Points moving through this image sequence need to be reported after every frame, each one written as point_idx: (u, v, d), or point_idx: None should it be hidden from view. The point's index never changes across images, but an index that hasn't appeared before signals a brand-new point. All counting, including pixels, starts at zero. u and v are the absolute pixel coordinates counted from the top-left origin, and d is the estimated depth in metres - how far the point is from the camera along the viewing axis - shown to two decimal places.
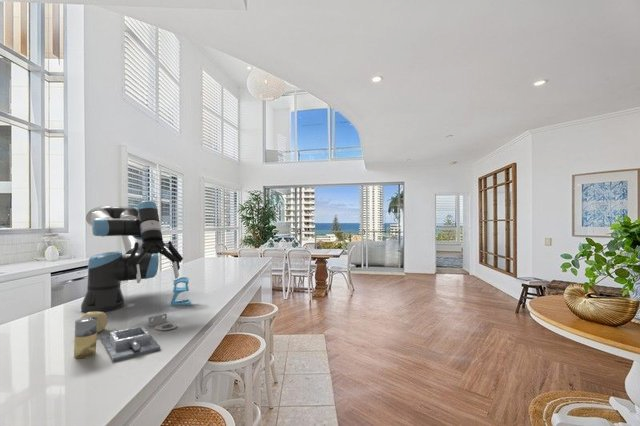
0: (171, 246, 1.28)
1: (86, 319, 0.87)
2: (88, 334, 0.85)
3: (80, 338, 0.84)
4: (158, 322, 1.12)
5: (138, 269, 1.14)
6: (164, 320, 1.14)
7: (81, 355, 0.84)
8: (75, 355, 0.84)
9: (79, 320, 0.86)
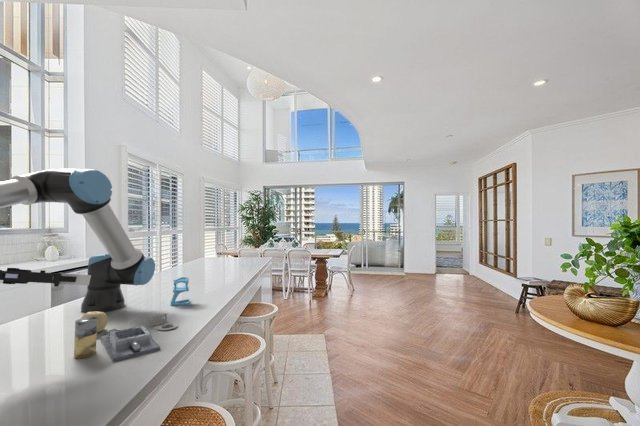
0: (19, 281, 0.72)
1: (86, 319, 0.87)
2: (88, 334, 0.85)
3: (80, 338, 0.84)
4: (158, 322, 1.12)
5: None
6: (164, 320, 1.14)
7: (81, 355, 0.84)
8: (75, 355, 0.84)
9: (79, 320, 0.86)
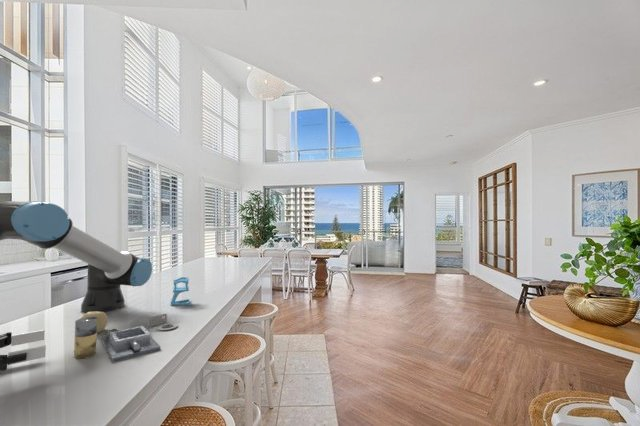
0: None
1: (86, 319, 0.87)
2: (88, 334, 0.85)
3: (80, 338, 0.84)
4: (158, 322, 1.12)
5: None
6: (164, 320, 1.14)
7: (81, 355, 0.84)
8: (75, 355, 0.84)
9: (79, 320, 0.86)
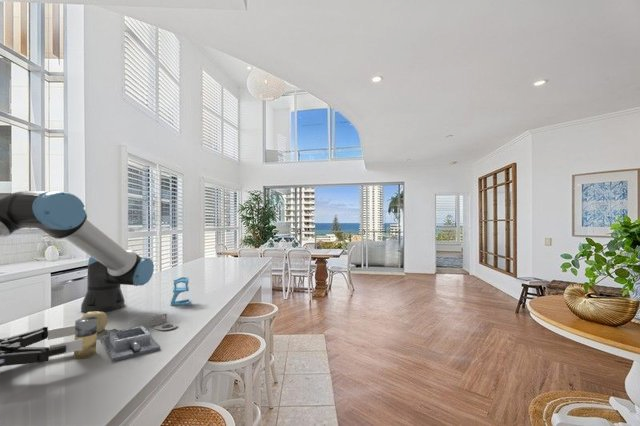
0: None
1: (86, 319, 0.87)
2: (88, 334, 0.85)
3: (80, 338, 0.84)
4: (158, 322, 1.12)
5: None
6: (164, 320, 1.14)
7: (81, 355, 0.84)
8: (75, 355, 0.84)
9: (79, 320, 0.86)
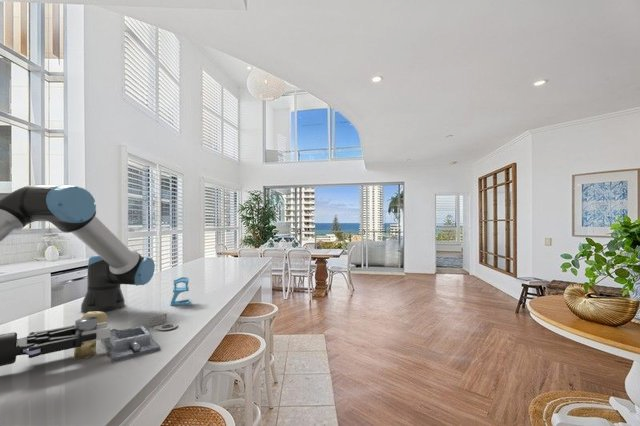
0: None
1: (86, 319, 0.87)
2: None
3: None
4: (158, 322, 1.12)
5: None
6: (164, 320, 1.14)
7: (81, 355, 0.84)
8: (75, 355, 0.84)
9: (79, 320, 0.86)
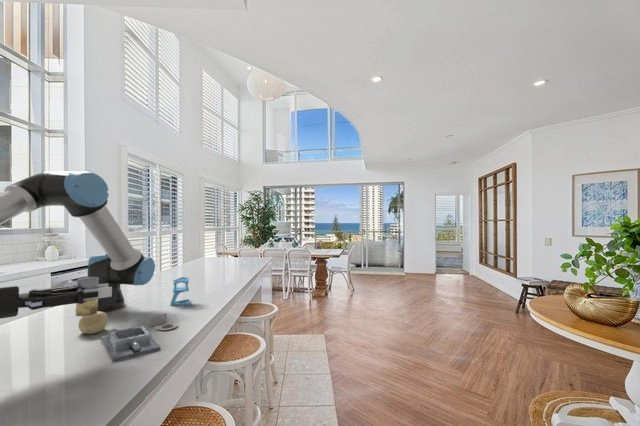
0: None
1: (88, 278, 0.87)
2: None
3: None
4: (158, 322, 1.12)
5: None
6: (164, 320, 1.14)
7: (83, 313, 0.84)
8: (77, 313, 0.84)
9: (81, 278, 0.86)
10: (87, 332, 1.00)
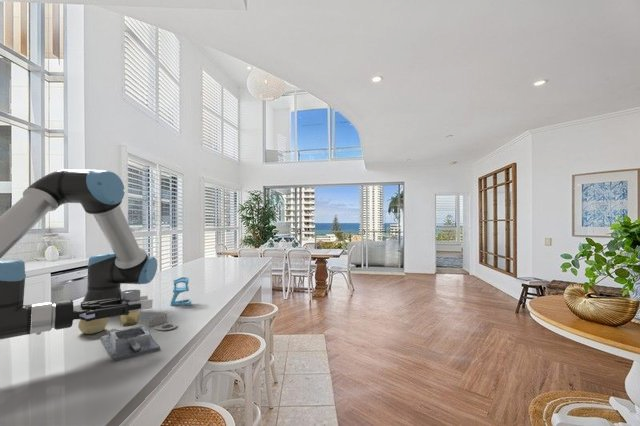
0: None
1: (131, 291, 0.94)
2: None
3: None
4: (158, 322, 1.12)
5: None
6: (164, 320, 1.14)
7: (127, 323, 0.91)
8: (122, 323, 0.91)
9: (125, 291, 0.93)
10: (87, 332, 1.00)
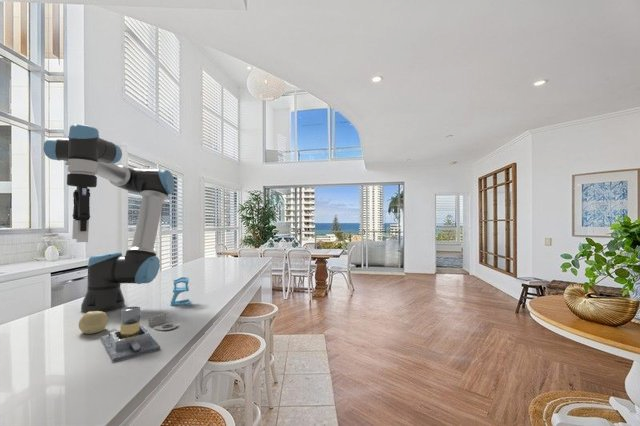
0: (79, 196, 0.91)
1: (130, 308, 0.94)
2: (133, 322, 0.92)
3: (126, 326, 0.91)
4: (158, 322, 1.12)
5: None
6: (164, 320, 1.14)
7: None
8: None
9: (124, 309, 0.93)
10: (87, 332, 1.00)
